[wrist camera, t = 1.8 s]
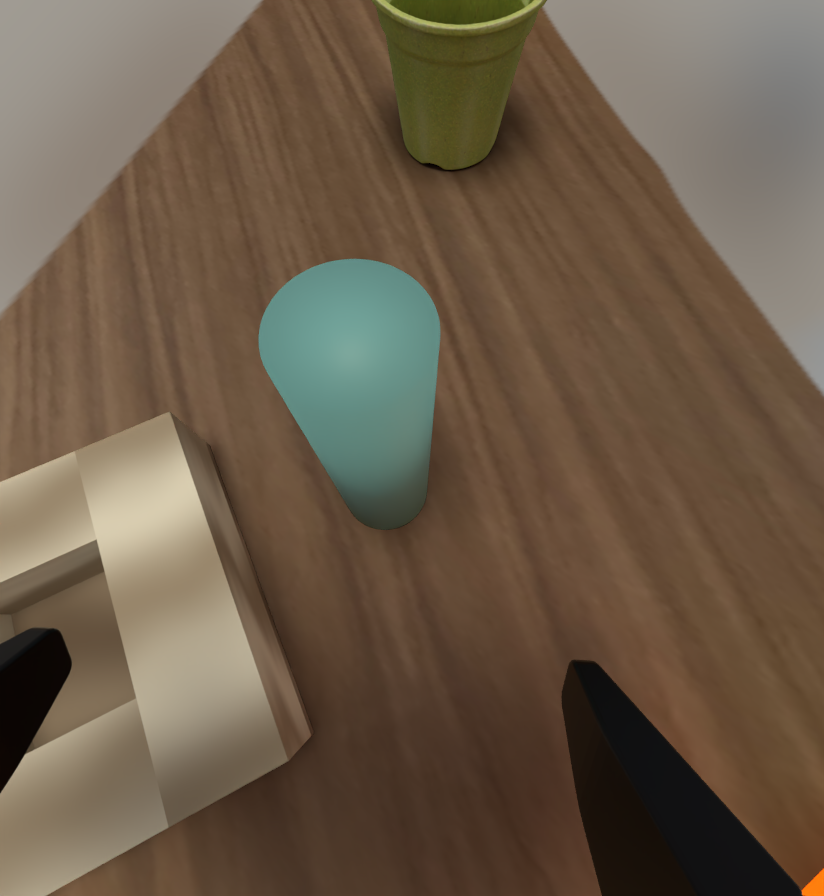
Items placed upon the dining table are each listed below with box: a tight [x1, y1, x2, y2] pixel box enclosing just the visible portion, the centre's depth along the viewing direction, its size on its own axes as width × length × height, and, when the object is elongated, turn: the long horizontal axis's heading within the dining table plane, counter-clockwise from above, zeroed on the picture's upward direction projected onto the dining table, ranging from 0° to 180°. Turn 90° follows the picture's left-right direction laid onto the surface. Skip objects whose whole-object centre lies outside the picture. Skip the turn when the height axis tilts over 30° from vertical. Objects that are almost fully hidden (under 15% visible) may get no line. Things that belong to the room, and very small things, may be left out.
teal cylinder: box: [259, 259, 440, 530], centre depth 16 cm, size 4×4×13 cm
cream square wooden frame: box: [0, 412, 314, 896], centre depth 18 cm, size 14×14×4 cm
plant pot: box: [372, 0, 547, 170], centre depth 27 cm, size 9×9×9 cm
